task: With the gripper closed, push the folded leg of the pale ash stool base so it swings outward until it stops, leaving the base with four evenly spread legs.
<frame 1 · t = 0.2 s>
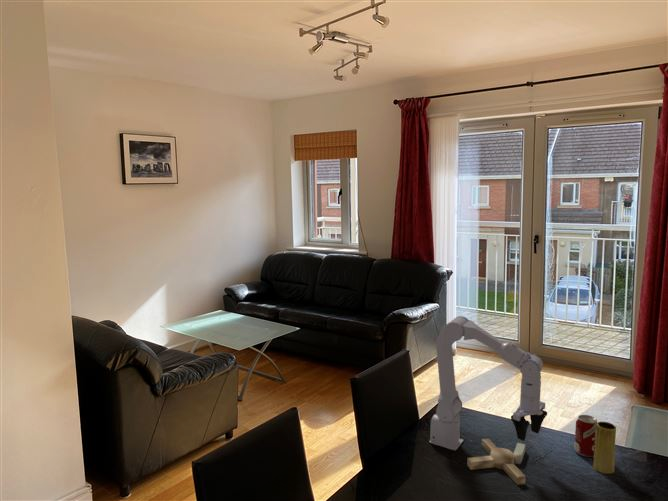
hand: (528, 435, 156), 10 cm above the table, tool pointing down, fingers open, 7 cm apart
stool base: (501, 463, 158), on the table
soda can: (585, 453, 164), on the table
hinged leg: (518, 453, 161), point 1 cm above the table, hinge at 50.0°
vase: (603, 469, 155), on the table
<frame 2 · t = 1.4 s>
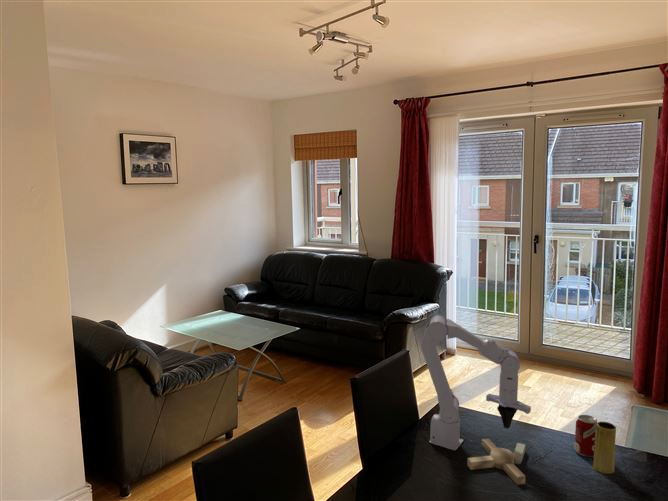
hand: (506, 427, 165), 8 cm above the table, tool pointing down, fingers closed
nothing on the table moved.
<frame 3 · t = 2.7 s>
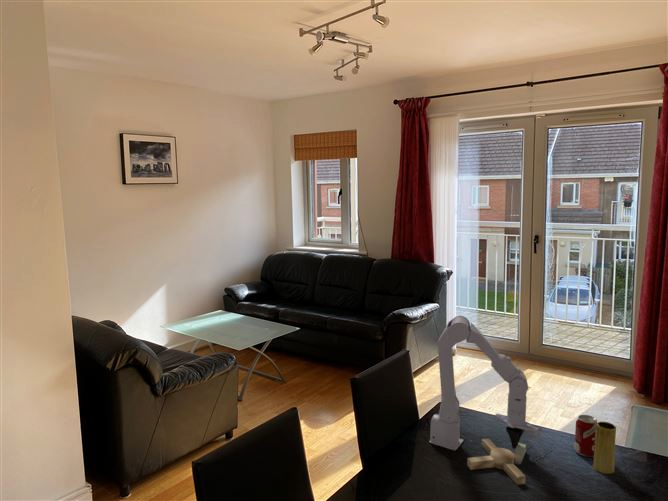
hand: (514, 447, 165), 1 cm above the table, tool pointing down, fingers closed, pressing on hinged leg
hinged leg: (519, 453, 161), point 1 cm above the table, hinge at 48.4°, touching gripper
everything else where it was.
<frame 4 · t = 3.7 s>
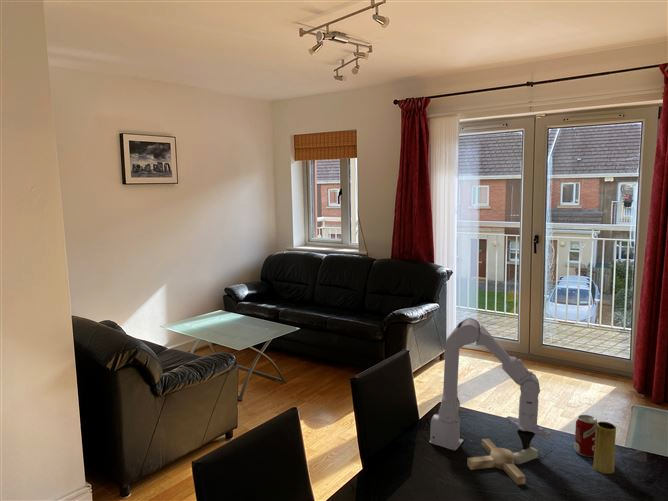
hand: (526, 450, 163), 1 cm above the table, tool pointing down, fingers closed, pressing on hinged leg
hinged leg: (524, 455, 160), point 1 cm above the table, hinge at 17.4°, touching gripper
everything else where it was.
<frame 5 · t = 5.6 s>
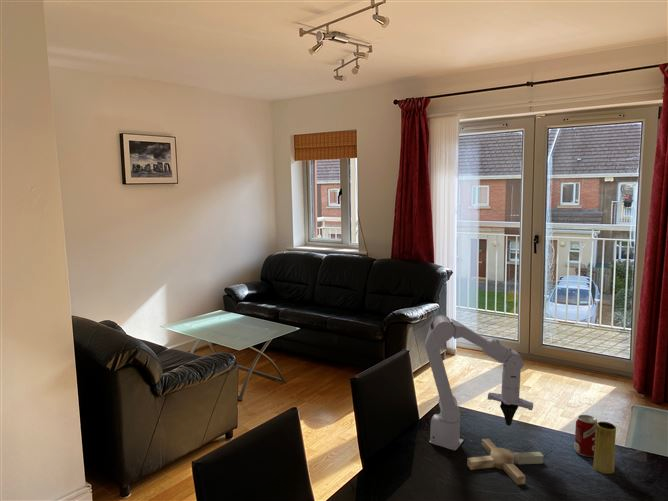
hand: (508, 424, 168), 8 cm above the table, tool pointing down, fingers closed
hinged leg: (527, 457, 159), point 1 cm above the table, hinge at -7.1°
everything else where it was.
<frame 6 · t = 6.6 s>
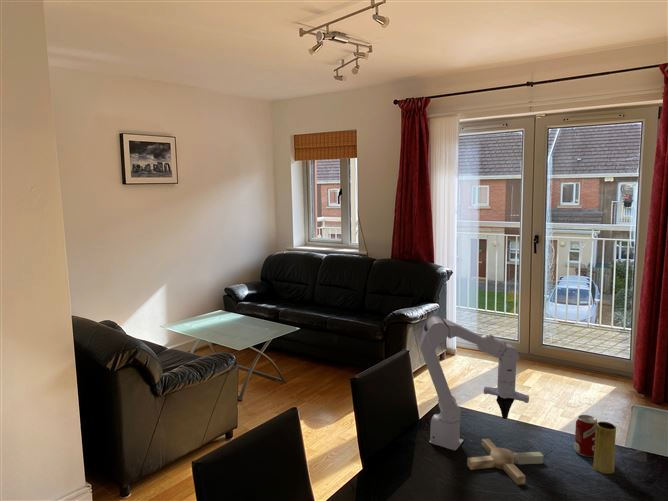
hand: (505, 417, 169), 9 cm above the table, tool pointing down, fingers closed
nothing on the table moved.
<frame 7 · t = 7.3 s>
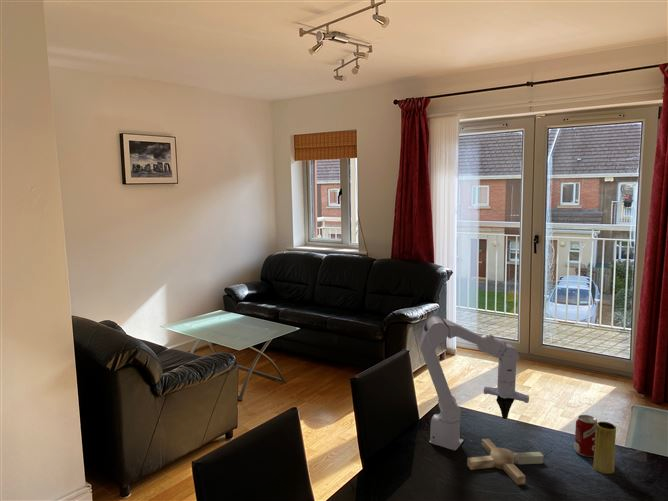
hand: (505, 417, 169), 9 cm above the table, tool pointing down, fingers closed
nothing on the table moved.
at the end: hinged leg at -7° (first picture: +50°); vase moved 0.2 cm from its start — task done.
